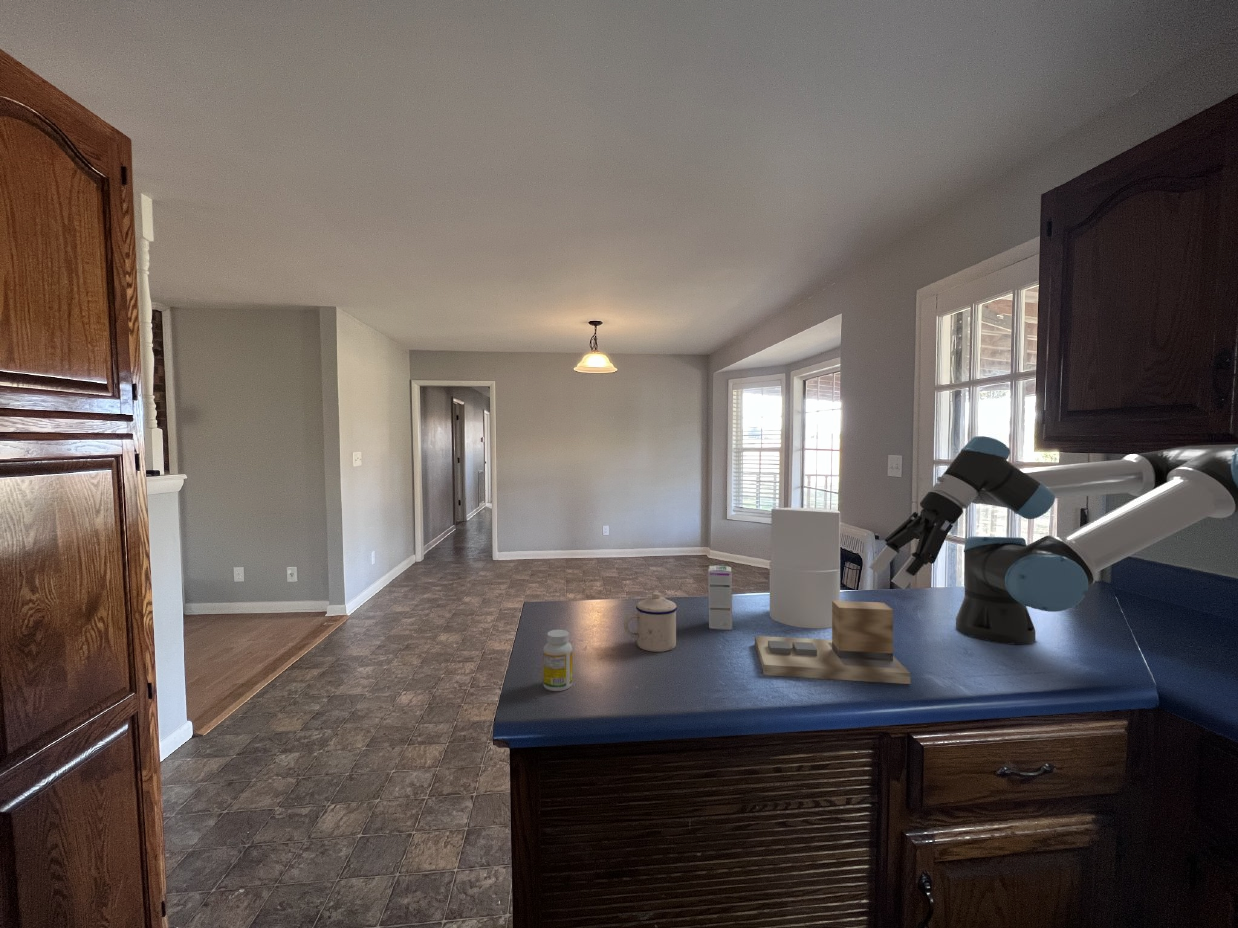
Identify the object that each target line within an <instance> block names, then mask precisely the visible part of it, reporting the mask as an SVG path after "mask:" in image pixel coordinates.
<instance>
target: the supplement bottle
mask: <svg viewBox="0 0 1238 928" xmlns="http://www.w3.org/2000/svg"><path fill="white" fill-rule="evenodd" d="M569 640H570V633H569V631H567V630H565V629H552V630H550V631H548V632H547V633H546V641H547V643H546V644H545V645H543V649H542V650H543V653H542V654H543V655H542V656H543V657H542V660H543V662H542V663H543V665H542V669H543V670H542V674H543V675H542V677H543V682H542V683H543V688H544V689H546V690H548V691H551V692H560V691H561V692H562V691H566V690H567V689H569V688H570V687H572V686H573V645H572V644H571V643H570V642H569Z"/></svg>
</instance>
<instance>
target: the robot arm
mask: <svg viewBox="0 0 1238 928" xmlns="http://www.w3.org/2000/svg"><path fill="white" fill-rule="evenodd" d="M1010 455H1011V449H1010V448H1009V447H1008V446H1007V444H1005V443H1004V442H1002V441H1001V440H998V439H997V438H995V437H992V436H988V435H985V434H979V435H975V436H973V437H972V438H971V439H970V440H969V441H968V442H967V443H966V444H965V445H964V447H963V448H961V449H960V451H959V453H958V454H957V455H956V456H955V458H954V459H953V461H952V462H951V463H950V465H949V466H948V467H947V469H946V470H945V471H944V472H943V474H942V475H939V476H937V478H936V480H937V481H936V482H935V484H934V485H933V486H932V487H931V490H932V491H928V492H927V493H926V494H925V496H924V497H923V499H922V500H921V501H920V502H919V505H920V508H921V509H923V511H922V512H921V514H920V513H918V512H917V511H914V512H913V513H911V515H910V516H909V517H908V518H907V519H906V520H905V521H904V522H903V523H902V524H900V526H898V527H897V528H896V529H895V530H894V531H893V532H891V533H890V534H889V535H888V536H887V537H886V538H885V539H884V542H885V546H884V547H883V549H881V551H880V552H879V553H878V555H877V556H876V557H875V559H874V560H873V561H872V562H871V563H870V565H869V567H868V568H870V569H871V570H872V571H873V572H874V573H876V574H877V575H879V576H880V575H881V574H882V573H883V572H884V570H885V569H886V568H887V567H888V565H889V564H890V563H891V562H892V561H893V560H894V558H895V557H896V556H897V554H900V550H901V548H902V547H904V546H905V545H907V544H909V543H910V542H912V541H913V540H915V539H916V538H919V539H918V542H917V546H916V549H915V552H912V553H911V554H910V557H909V558H908V559H907V561H906V562H905V563H904V564H903V565H902V567H901V568H900V569H899V570H898V572H897V573H896V574H895V575H894V577H893V578H892V579H891V580H890V582H892V583H894V584H895V585H896V586H898V587H899V588H900V589H902V590H905V589H906V588H908V586H909V584H910V583H911V581H913V580H914V578H915V577H916V575H917V574H918V573H919V572H920V571H921V569H922V568H923V567H924V565H926V566H927V565H928V564H931V565H933V564H934V563H935V562H936V560H937V558H938V555H940V552H941V549H942V547H943V545H944V543H945V540H946V538H947V536H948V534H949V533H950V531H951V529H952V528H953V525H954V524H955V523H956V522H957V521H958V520H959V519H960V517H961V516H962V515H963V513H964V510H965V509H966V510H967V509H968V508H969V506H970V505H971V504H977V505H979V504H981V505H986V506H994V507H999V508H1000V507H1001V508H1004V509H1010V510H1011V511H1012V512H1014V514H1015V515H1019V516H1020V517H1021V518H1023V519H1027V520H1034V519H1037V518H1039V517H1041V516H1043V515H1045V514H1046V513H1048V512H1049V511H1050V509H1051V508H1052V506H1053V505H1054V503H1055V501H1056V499H1063V498H1077V497H1078V498H1079V497H1088V496H1089V497H1090V496H1102V495H1113V494H1116V495H1117V494H1129V495H1132V496H1134V497H1136V498H1133V499H1132V500H1130V501H1128V502H1126V503H1124V504H1123V505H1120V506H1119V507H1117V508H1114V509H1113V510H1110V511H1109V512H1107V513H1105V514H1103V515H1101V516H1099V517H1097V518H1095V519H1093V520H1091V521H1089V522H1088V523H1086V524H1083V525H1082V526H1080V527H1078V528H1076V529H1074V530H1072V531H1070V532H1068V533H1066V534H1064V535H1062V536H1060V537H1059V536H1054V535H1044V536H1043V537H1041V538H1039V539H1037V540H1035V541H1033V542H1031V543H1029V544H1027V543H1026V539H1025V538H1023V537H1021V536H1020V537H1017V536H1016V537H1015V536H1012V537H1011V536H1010V537H1009V536H976V535H975V536H974V535H973V536H968V537H967V538H965V541H964V548H963V553H964V554H963V555H964V556H963V557H964V560H963V561H964V569H963V570H964V597H963V600H962V603H961V605H960V607H959V609H958V612H957V615H956V616H955V628H956V630H957V631H959V632H961V633H963V634H965V635H967V636H970V637H972V638H976V639H978V640H979V639H980V640H984V641H989V642H993V643H1000V644H1007V645H1008V644H1009V645H1027V644H1032V643H1035V642H1036V629H1035V626H1034V623H1033V621H1032V618H1031V616H1030V612H1029V610H1028V608H1027V607H1029V608H1032V609H1034V610H1040V611H1043V612H1050V613H1051V612H1053V613H1054V612H1056V613H1057V612H1063V611H1067V610H1070V609H1072V608H1074V607H1076V606H1077V605H1078V604H1080V603H1081V602H1082V601H1083V599H1084V598H1085V597H1086V595H1085V592H1088V589H1089V587H1090V586H1092V585H1094V583H1095V582H1096V573H1097V572H1100V571H1102V570H1103V569H1106V568H1108V567H1110V566H1112V565H1113V564H1116V563H1118V562H1120V561H1123V560H1124V559H1126V558H1129V556H1132V555H1133V554H1136V553H1138V552H1140V551H1142V550H1143V549H1145V548H1147V547H1149V546H1152V545H1154V544H1155V543H1157V542H1159V541H1162V540H1164V539H1166V538H1168V537H1169V536H1172V535H1174V534H1176V533H1178V532H1179V531H1181V530H1183V529H1186V528H1187V527H1190V526H1191V525H1193V524H1196V523H1198V522H1199V521H1202V520H1204V519H1206V518H1207V517H1209V518H1215V519H1223V518H1228V517H1230V516H1231V515H1232V516H1233V514H1236V513H1238V444H1208V445H1207V444H1205V445H1204V444H1202V445H1197V444H1196V445H1186V446H1179V447H1178V446H1177V447H1172V448H1167V449H1161V450H1156V451H1149V452H1143V453H1142V452H1141V453H1133V454H1132V453H1131V454H1127V455H1125V456H1124V457H1122V458H1121V459H1115V460H1105V461H1104V460H1103V461H1094V462H1091V461H1090V462H1083V463H1082V462H1081V463H1071V464H1059V465H1049V466H1038V467H1029V468H1028V467H1027V468H1018V467H1016V466H1014V464H1012V463H1011V462H1009V461H1008V460H1009V458H1010Z"/></svg>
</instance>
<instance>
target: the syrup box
mask: <svg viewBox="0 0 1238 928" xmlns="http://www.w3.org/2000/svg"><path fill="white" fill-rule="evenodd" d="M707 570H708V571H707V580H708V581H707V583H708V584H707V587H708V588H707V589H708V590H707V591H708V597H707V599H708V600H707V601H708V628H709V629H712V630H724V631H733V581H732V579H733V578H732V567H731V566H729V565H709V567H708V569H707Z"/></svg>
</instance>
